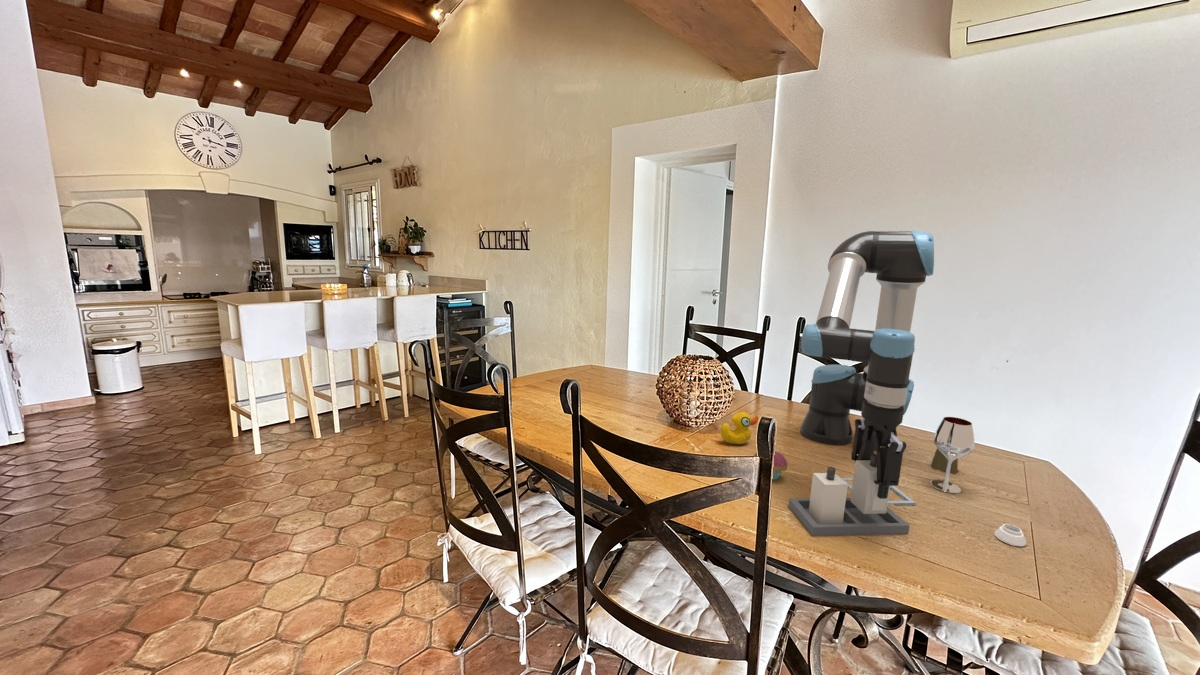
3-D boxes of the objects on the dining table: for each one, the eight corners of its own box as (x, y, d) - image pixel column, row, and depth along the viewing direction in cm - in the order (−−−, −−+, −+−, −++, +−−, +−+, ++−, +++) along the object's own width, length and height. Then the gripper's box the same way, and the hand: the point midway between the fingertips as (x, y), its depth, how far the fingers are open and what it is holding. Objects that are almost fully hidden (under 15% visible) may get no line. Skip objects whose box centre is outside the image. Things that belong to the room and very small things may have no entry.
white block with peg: (850, 501, 104) (857, 450, 102) (871, 500, 104) (879, 450, 102) (863, 513, 99) (871, 460, 97) (885, 513, 100) (894, 460, 97)
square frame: (838, 480, 120) (838, 478, 120) (882, 479, 121) (882, 477, 121) (867, 505, 109) (867, 503, 109) (915, 505, 109) (916, 502, 109)
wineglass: (970, 498, 113) (984, 429, 109) (931, 491, 116) (943, 424, 112) (958, 482, 120) (970, 417, 117) (921, 476, 123) (932, 413, 120)
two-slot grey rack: (788, 508, 107) (789, 498, 107) (874, 506, 108) (876, 497, 108) (811, 537, 96) (813, 527, 96) (907, 536, 98) (909, 525, 97)
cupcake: (757, 466, 127) (761, 425, 125) (789, 475, 122) (794, 433, 120) (747, 478, 120) (751, 436, 118) (780, 489, 116) (785, 444, 113)
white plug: (808, 513, 104) (814, 463, 102) (829, 513, 105) (836, 462, 102) (819, 526, 99) (826, 474, 97) (842, 526, 100) (849, 474, 97)
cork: (962, 474, 125) (969, 436, 123) (937, 471, 126) (944, 434, 124) (950, 464, 131) (957, 427, 128) (926, 461, 132) (933, 425, 130)
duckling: (752, 439, 145) (755, 409, 143) (759, 446, 140) (762, 415, 138) (717, 439, 144) (719, 409, 142) (722, 447, 139) (725, 416, 137)
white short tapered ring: (1014, 550, 94) (1031, 545, 95) (1017, 537, 93) (1034, 533, 95) (988, 535, 99) (1004, 531, 100) (990, 523, 98) (1007, 519, 99)
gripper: (842, 389, 106) (829, 481, 110) (895, 418, 88) (878, 527, 93) (873, 389, 106) (860, 481, 111) (933, 418, 88) (914, 526, 93)
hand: (868, 501), depth 102 cm, fingers closed on white block with peg, 5 cm apart
